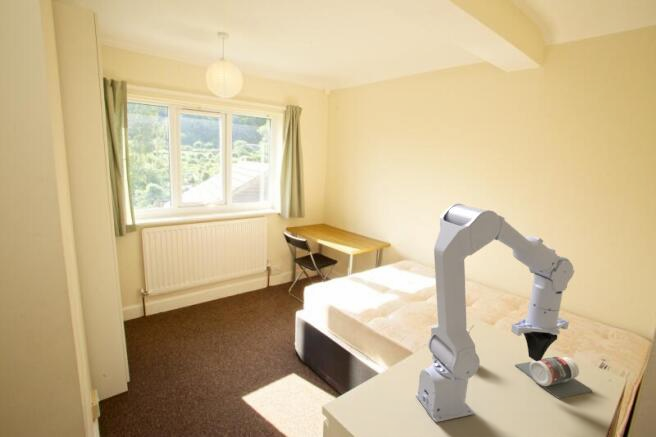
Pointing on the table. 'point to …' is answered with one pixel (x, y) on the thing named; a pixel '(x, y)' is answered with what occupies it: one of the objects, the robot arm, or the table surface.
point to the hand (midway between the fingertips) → (534, 358)
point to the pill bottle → (553, 370)
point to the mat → (561, 388)
